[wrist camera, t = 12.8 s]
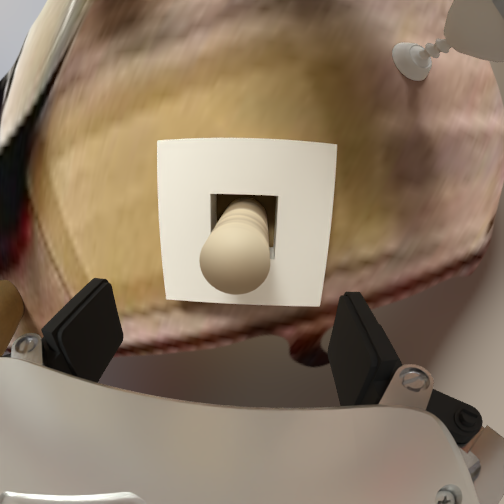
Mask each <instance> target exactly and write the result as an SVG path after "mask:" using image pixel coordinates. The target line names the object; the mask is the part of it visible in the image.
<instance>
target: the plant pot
mask: <svg viewBox="0 0 504 504" xmlns="http://www.w3.org/2000/svg"><path fill="white" fill-rule="evenodd" d="M23 313H24V305H23V301H22V299H21V296H20V294H19V292H18V290H17V289H16V288H15V286H14V285H13V284H12V283H11V282H10V281H8V280H0V357H1V356H2V355H3V354H4V352H5V350H6V348H7V346H8V345H9V343H10V341H11V339H12V337H13V335H14V333H15V331H16V329H17V327H18V325H19V322H20V320H21V318H22V316H23Z"/></svg>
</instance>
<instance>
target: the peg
mask: <svg viewBox="0 0 504 504" xmlns="http://www.w3.org/2000/svg"><path fill="white" fill-rule="evenodd" d="M199 262H200V268H201V271H202V274H203V276H204V278H205V279H206V280H207V282H208V283H209V284H210V285H211V286H213V287H214V288H215V289H217V290H219V291H221V292H224V293H227V294H233V295H240V294H245V293H249V292H251V291H253V290H255V289H257V288H258V287H259V286H260V285H261V284H262V283H263V282H264V281H265V279H266V278H267V276H268V273H269V270H270V249H269V237H268V224H267V214H266V211H265V209H264V207H263V206H262V205H261V204H260V203H259V202H258V201H257V200H255V199H252V198H247V197H243V198H238V199H236V200H234V201H233V202H231V203H230V204H229V205H228V207H227V208H226V210H225V212H224V213H223V215H222V216H221V218H220V219H219V221H218V223H217V224H216V226H215V227H214V229H213V231H212V232H211V234H210V235H209V237H208V239H207V240H206V242H205V244H204V245H203V247H202V249H201V252H200V260H199Z"/></svg>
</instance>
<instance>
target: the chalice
mask: <svg viewBox="0 0 504 504" xmlns="http://www.w3.org/2000/svg"><path fill="white" fill-rule="evenodd" d="M444 35H445V38H446V39H443V40H442V39H436V43H435V44H434V45H433V44H431V43H427V44H426V48H425V49H424V48H423V47H422V46H420V45H418V44H415V43H403V42H402V43H398V44H397V45H395V46H394V48H393V51H392V57H393V60H394V63H395V65H396V67H397V68H398V69H399V71H400V72H401V73H402V74H403V75H405V76H406V77H407V78H409V79H412V80H415V81H421V80H424V79H425V78H426V77H427V75H428V73H429V71H430V69H431V66H432V61H431V58H430V57H431V56H432V57H434V58H438V57H439V55H440V54H439V53H440V52H443V53H448V52H449V49H450V48H451V47H453V48H454V49H455V50H456V51H458V52H460V53H463V54H466V55H470V56H473V57H476V58H479V59H483V60H488V61H493V62H504V0H454V1H453V3H452V5H451V8H450V10H449V12H448V15H447V19H446V23H445V27H444Z"/></svg>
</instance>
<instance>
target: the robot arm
mask: <svg viewBox="0 0 504 504" xmlns="http://www.w3.org/2000/svg"><path fill="white" fill-rule="evenodd" d="M41 331H42V333H43V335H44V337H43V338H42V339H41V337H40V336H39V335H38V334H35V333H28V334H25V335H22V336H20V337H19V338H18V339H16V340H15V342H14V343H13V345H12V351H11V354H8V355H5V356H1V357H0V504H498V503H499V501H500V500H501V499H502V497H503V495H504V438H503V437H502V436H500V435H499V434H498V433H497V432H496V431H494V430H493V429H492V428H490V427H489V426H488V425H487V426H486V427H485V428H484V427H483V426H482V417H481V415H480V413H479V412H478V410H477V409H476V408H474V407H472V406H471V405H468V404H466V403H464V402H461V401H459V400H457V399H454V398H452V397H450V396H448V395H445V394H443V393H441V392H439V391H436V390H434V389H433V386H434V380H433V377H432V375H431V374H430V373H429V372H428V371H427V370H426V369H424V368H423V367H421V366H417V365H413V364H412V365H411V364H407V365H402V364H401V361H400V359H399V357H398V355H397V354H396V352H395V350H394V348H393V346H392V344H391V343H390V341H389V339H388V337H387V336H386V334H385V332H384V330H383V328H382V326H381V325H380V324H378V322H377V320H376V318H375V317H374V315H373V313H372V311H371V310H370V308H369V306H368V305H367V303H366V301H365V300H364V298H363V296H362V295H361V293H360V292H346V293H345V294H344V296H340V298H339V303H338V308H337V313H336V317H335V322H334V326H333V331H332V335H331V339H330V343H329V347H328V358H329V362H330V365H331V369H332V373H333V377H334V380H335V384H336V389H337V393H338V397H339V401H340V405H341V406H337V407H315V408H261V407H241V406H227V405H216V404H207V403H197V402H190V401H183V400H176V399H170V398H163V397H158V396H153V395H147V394H142V393H138V392H133V391H129V390H124V389H120V388H116V387H112V386H108V385H104V384H100V383H98V381H99V379H100V378H101V376H102V374H103V372H104V371H105V369H106V367H107V366H108V364H109V362H110V361H111V359H112V358H113V356H114V354H115V353H116V351H117V349H118V348H119V346H120V345H121V343H122V341H123V331H122V328H121V324H120V320H119V316H118V312H117V308H116V304H115V299H114V295H113V290H112V286H111V284H110V283H108V281H107V280H106V279H99V278H94V279H93V280H91V281H90V282H89V283H88V284H87V285H86V286H85V287H84V288H83V289H82V290H81V291H80V292H79V293H77V294H76V295H75V296H74V297H73V298H72V299H71V300H70V301H69V302H68V303H67V304H66V305H65V306H64V307H63V308H62V309H61V310H60V311H59V312H58V313H57V314H56V315H55V316H54V317H53V318H52V319H51V320H50V321H49V322H48V323H47V324H46V325H45V326H44V327H43V328H42V329H41Z"/></svg>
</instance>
